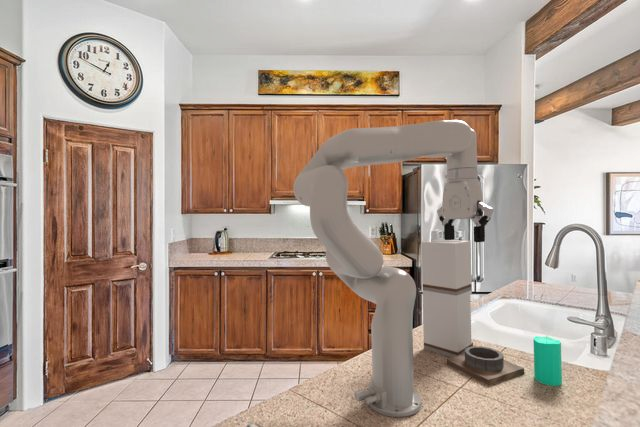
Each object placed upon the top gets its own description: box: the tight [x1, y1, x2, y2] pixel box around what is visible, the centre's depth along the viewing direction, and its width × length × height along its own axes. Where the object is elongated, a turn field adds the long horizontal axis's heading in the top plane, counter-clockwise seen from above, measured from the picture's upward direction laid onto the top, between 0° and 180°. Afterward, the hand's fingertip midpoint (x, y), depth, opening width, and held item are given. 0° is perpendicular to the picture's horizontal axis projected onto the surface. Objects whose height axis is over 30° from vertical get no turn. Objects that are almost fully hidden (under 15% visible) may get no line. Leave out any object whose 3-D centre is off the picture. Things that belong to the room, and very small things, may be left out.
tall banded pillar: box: [420, 239, 474, 358], centre depth 109 cm, size 11×11×35 cm
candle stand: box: [446, 345, 525, 386], centre depth 95 cm, size 14×14×4 cm
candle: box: [533, 333, 563, 387], centre depth 88 cm, size 6×6×12 cm
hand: (463, 240), depth 90 cm, fingers open, 9 cm apart
